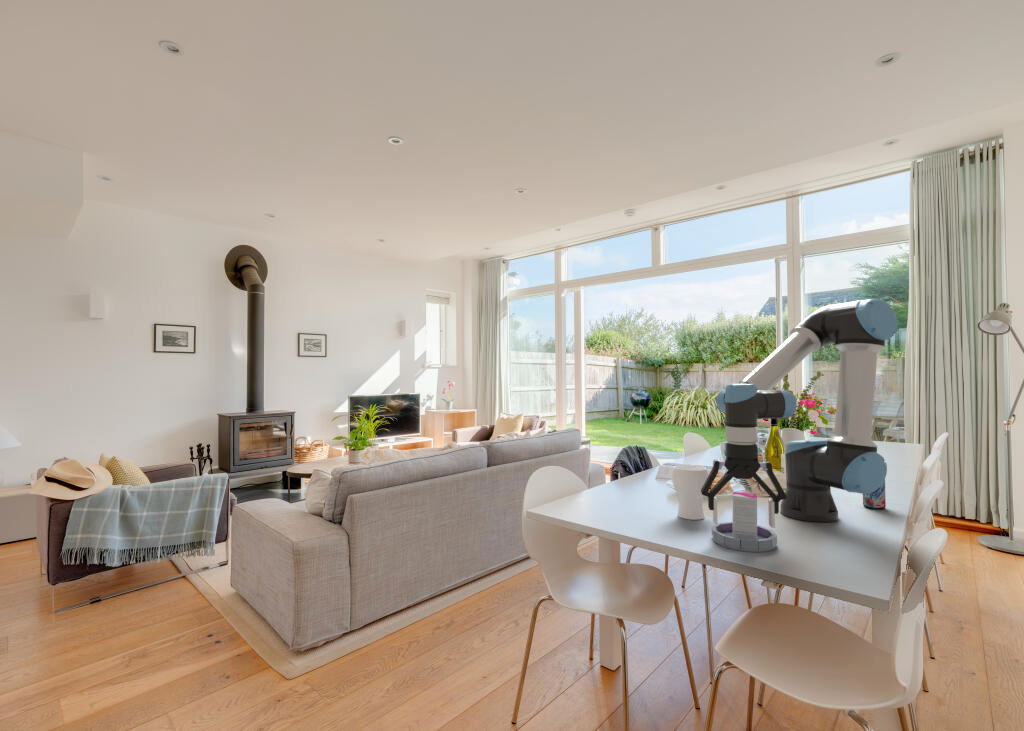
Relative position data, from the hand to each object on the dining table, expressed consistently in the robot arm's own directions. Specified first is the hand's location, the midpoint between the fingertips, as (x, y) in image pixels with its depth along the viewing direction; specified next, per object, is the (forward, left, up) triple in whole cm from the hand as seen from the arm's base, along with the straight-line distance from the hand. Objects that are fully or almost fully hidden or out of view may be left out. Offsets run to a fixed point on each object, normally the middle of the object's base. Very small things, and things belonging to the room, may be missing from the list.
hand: (743, 524), depth 127 cm
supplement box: (0, 0, -4) cm, 4 cm away
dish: (0, 0, -4) cm, 4 cm away
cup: (+11, -21, -5) cm, 24 cm away
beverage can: (-47, -44, -5) cm, 65 cm away
